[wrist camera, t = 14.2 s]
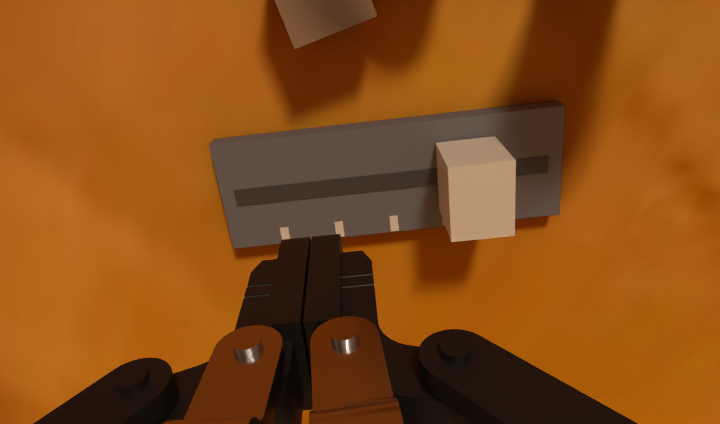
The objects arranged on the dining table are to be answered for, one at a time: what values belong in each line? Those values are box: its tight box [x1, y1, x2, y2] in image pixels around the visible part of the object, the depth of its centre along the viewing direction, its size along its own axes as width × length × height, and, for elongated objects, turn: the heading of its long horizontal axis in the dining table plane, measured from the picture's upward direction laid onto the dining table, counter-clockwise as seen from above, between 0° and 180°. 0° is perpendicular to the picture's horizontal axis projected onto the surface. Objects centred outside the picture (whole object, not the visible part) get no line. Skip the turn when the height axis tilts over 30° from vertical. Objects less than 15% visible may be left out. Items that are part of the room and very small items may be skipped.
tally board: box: [209, 101, 565, 249], centre depth 38 cm, size 24×8×2 cm, turn 96°
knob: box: [436, 136, 516, 242], centre depth 34 cm, size 4×5×5 cm
